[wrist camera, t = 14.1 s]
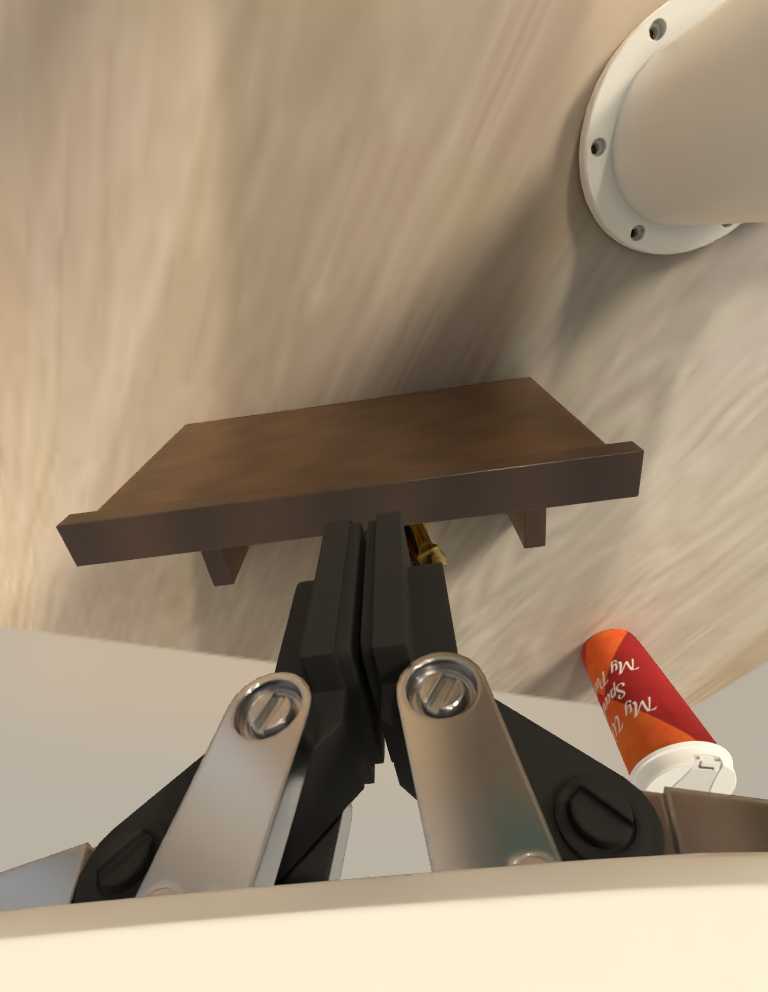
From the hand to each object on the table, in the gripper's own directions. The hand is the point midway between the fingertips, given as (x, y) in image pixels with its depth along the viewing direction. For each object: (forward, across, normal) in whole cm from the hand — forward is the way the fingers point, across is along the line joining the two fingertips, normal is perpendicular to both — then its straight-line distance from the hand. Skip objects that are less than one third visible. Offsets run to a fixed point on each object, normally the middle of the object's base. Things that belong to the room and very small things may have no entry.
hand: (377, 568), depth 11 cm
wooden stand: (+26, +3, +9) cm, 28 cm away
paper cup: (+26, -17, +34) cm, 46 cm away
